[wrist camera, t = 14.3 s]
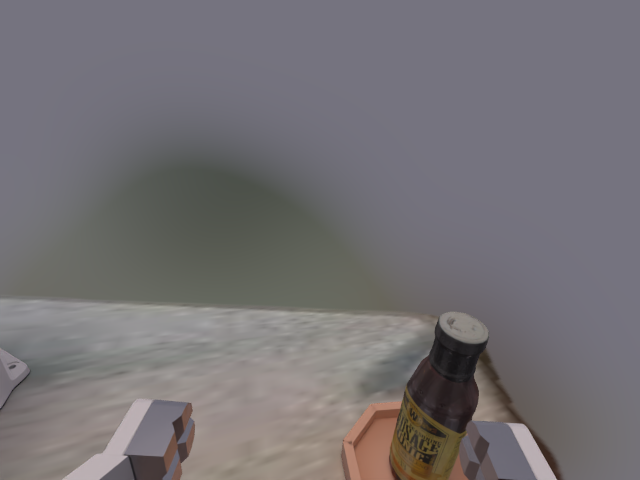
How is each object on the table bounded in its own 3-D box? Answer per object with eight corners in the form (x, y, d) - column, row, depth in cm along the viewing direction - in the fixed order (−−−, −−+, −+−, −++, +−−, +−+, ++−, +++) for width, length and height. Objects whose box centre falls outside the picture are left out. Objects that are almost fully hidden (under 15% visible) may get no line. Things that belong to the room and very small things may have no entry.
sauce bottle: (375, 457, 38) (403, 309, 30) (418, 435, 41) (454, 293, 33) (415, 518, 33) (462, 359, 25) (462, 488, 36) (518, 336, 27)
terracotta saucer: (317, 487, 36) (318, 472, 35) (384, 396, 47) (386, 382, 46) (464, 611, 28) (471, 596, 27) (502, 465, 39) (508, 451, 38)
